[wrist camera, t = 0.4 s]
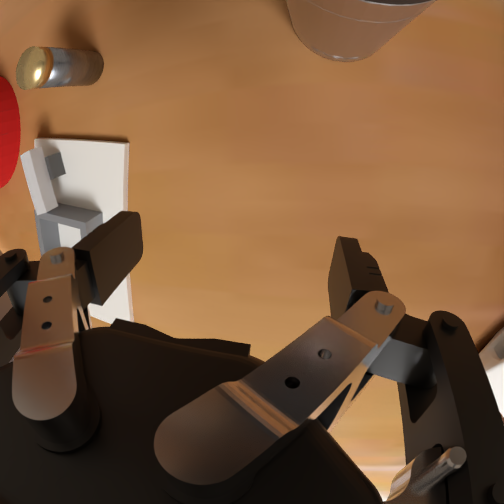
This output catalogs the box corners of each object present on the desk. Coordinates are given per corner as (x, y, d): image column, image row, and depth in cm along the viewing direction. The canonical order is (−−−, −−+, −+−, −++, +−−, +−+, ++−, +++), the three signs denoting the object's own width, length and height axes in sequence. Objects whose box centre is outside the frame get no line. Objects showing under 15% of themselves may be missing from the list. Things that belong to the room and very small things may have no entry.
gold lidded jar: (79, 53, 27) (18, 50, 18) (105, 49, 26) (44, 43, 18) (75, 86, 29) (14, 91, 20) (101, 84, 28) (39, 87, 20)
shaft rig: (39, 137, 33) (10, 146, 28) (129, 142, 31) (99, 151, 26) (58, 297, 45) (39, 315, 40) (134, 327, 44) (117, 351, 39)
